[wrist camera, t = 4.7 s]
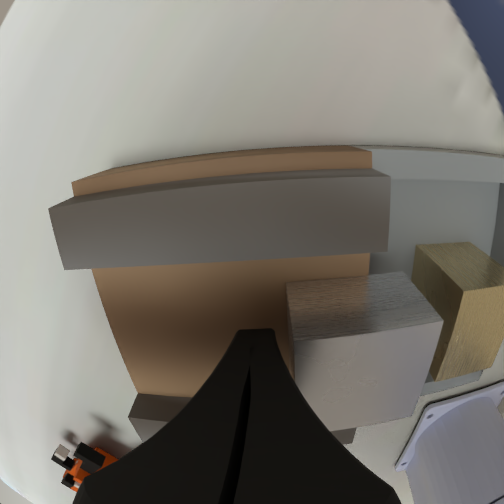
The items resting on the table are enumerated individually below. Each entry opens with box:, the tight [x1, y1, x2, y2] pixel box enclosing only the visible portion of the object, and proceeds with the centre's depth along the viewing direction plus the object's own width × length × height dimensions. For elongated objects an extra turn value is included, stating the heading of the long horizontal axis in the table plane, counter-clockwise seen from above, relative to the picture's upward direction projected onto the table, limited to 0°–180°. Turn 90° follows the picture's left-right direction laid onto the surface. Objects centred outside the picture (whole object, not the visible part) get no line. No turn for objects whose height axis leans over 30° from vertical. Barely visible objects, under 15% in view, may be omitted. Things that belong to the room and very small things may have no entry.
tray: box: [348, 145, 504, 396], centre depth 12 cm, size 12×8×2 cm
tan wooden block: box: [411, 242, 504, 382], centre depth 10 cm, size 4×4×3 cm
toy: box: [51, 442, 118, 492], centre depth 19 cm, size 8×6×15 cm
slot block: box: [49, 145, 391, 444], centre depth 11 cm, size 12×10×4 cm
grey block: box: [286, 271, 444, 431], centre depth 9 cm, size 4×4×3 cm
